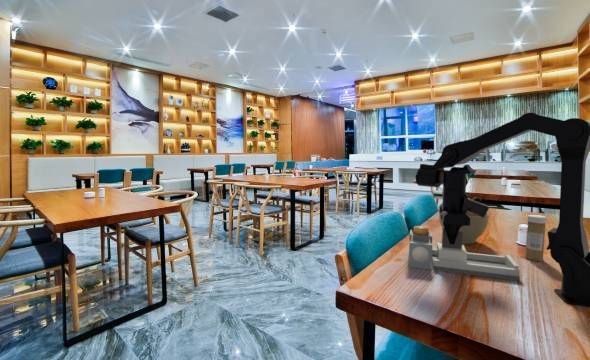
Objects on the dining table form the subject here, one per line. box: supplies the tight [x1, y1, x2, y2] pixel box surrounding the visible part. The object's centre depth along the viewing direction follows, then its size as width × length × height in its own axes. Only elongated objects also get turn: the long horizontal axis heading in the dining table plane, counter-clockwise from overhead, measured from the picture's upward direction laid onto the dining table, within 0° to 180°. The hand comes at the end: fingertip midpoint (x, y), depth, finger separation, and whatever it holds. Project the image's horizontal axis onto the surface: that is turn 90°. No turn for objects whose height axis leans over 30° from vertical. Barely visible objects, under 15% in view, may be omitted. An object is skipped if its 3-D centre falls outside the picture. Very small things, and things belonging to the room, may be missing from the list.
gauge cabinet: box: [408, 229, 434, 271], centre depth 93 cm, size 12×6×9 cm, turn 159°
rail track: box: [432, 248, 521, 282], centre depth 88 cm, size 12×20×3 cm, turn 69°
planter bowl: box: [438, 211, 490, 245], centre depth 114 cm, size 16×16×11 cm
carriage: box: [436, 227, 468, 263], centre depth 90 cm, size 7×7×9 cm
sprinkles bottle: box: [524, 214, 547, 262], centre depth 95 cm, size 5×5×14 cm
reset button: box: [413, 225, 429, 236], centre depth 92 cm, size 4×4×2 cm
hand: (451, 242), depth 89 cm, fingers closed on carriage, 2 cm apart
